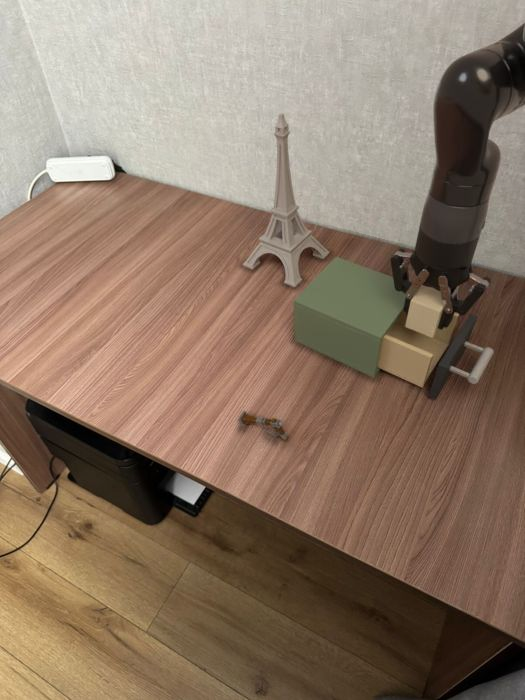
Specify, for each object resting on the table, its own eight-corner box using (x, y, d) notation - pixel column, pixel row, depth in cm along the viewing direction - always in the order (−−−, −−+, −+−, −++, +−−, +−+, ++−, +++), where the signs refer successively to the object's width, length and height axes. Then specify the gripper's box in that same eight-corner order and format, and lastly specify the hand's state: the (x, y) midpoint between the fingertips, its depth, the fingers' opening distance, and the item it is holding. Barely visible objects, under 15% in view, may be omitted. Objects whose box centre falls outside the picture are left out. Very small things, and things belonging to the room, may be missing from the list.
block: (444, 320, 75) (452, 293, 71) (432, 338, 73) (440, 311, 69) (417, 309, 77) (423, 283, 73) (404, 326, 75) (410, 300, 71)
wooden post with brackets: (289, 445, 72) (277, 424, 69) (249, 437, 77) (236, 418, 74) (295, 435, 73) (283, 415, 70) (255, 428, 78) (242, 409, 75)
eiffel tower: (242, 265, 103) (225, 121, 80) (278, 234, 109) (272, 93, 87) (294, 287, 97) (291, 138, 74) (329, 252, 103) (336, 107, 81)
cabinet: (409, 328, 87) (419, 286, 80) (374, 378, 80) (380, 337, 73) (333, 297, 94) (335, 256, 87) (294, 341, 87) (293, 300, 80)
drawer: (491, 359, 80) (506, 326, 74) (463, 412, 73) (476, 380, 68) (386, 317, 88) (392, 284, 82) (352, 361, 82) (356, 328, 76)
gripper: (386, 222, 63) (372, 316, 75) (498, 257, 57) (462, 353, 69) (410, 195, 67) (393, 289, 79) (518, 225, 60) (481, 322, 73)
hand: (426, 319), depth 74 cm, fingers closed on block, 4 cm apart
